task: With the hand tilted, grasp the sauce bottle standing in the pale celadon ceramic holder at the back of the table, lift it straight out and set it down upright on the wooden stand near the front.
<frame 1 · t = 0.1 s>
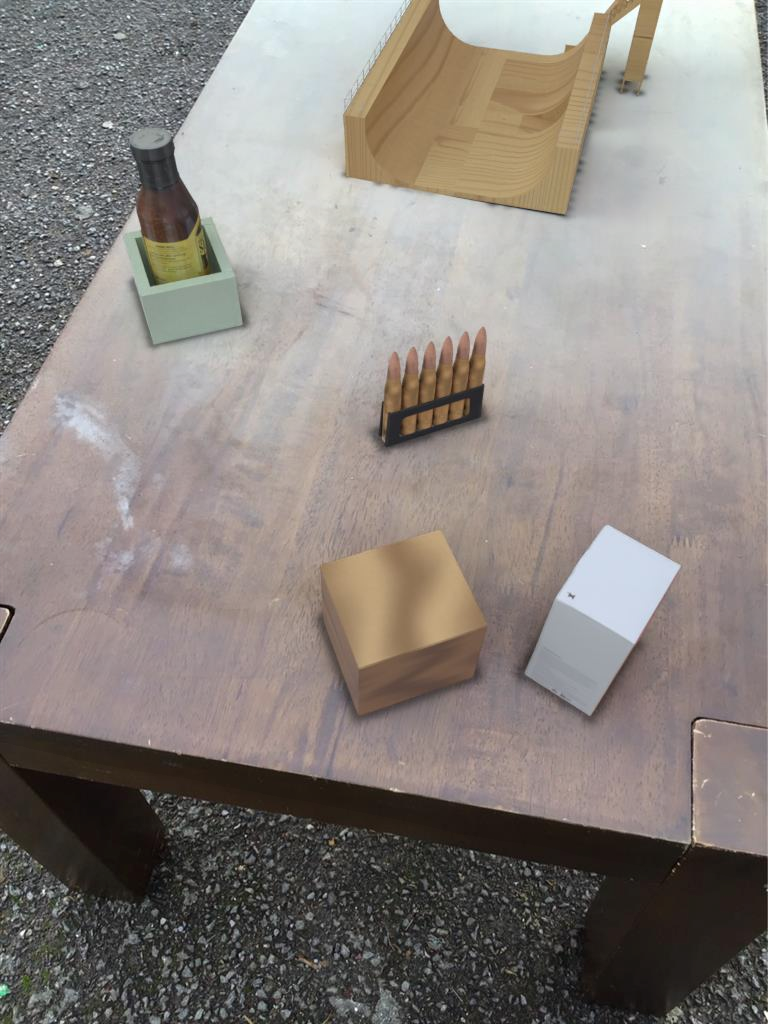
sauce bottle: (188, 307, 93), resting in holder
wooden stand: (401, 597, 61), on the table
holder: (188, 306, 93), on the table
small box: (578, 661, 68), on the table
skate ramp: (503, 126, 117), on the table
ammunition clip: (429, 429, 83), on the table
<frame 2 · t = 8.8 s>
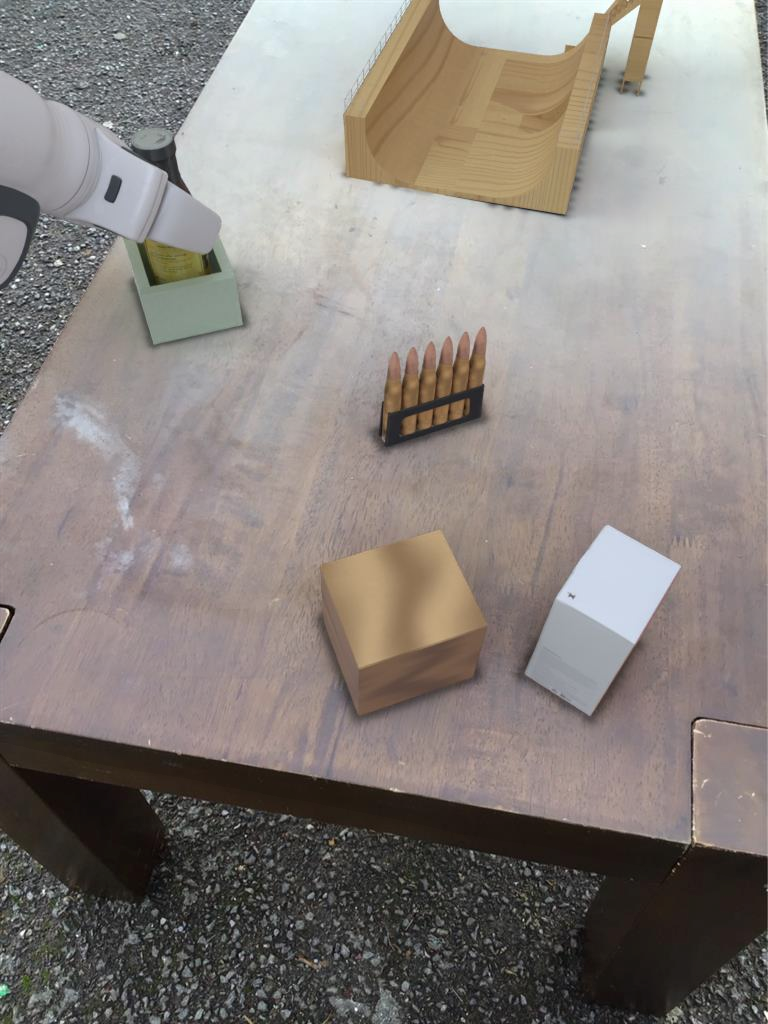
hand: (174, 214, 84), 11 cm above the table, tool tilted 45°, fingers closed on sauce bottle, 6 cm apart
sauce bottle: (188, 307, 93), resting in holder, touching gripper
everything else where it was.
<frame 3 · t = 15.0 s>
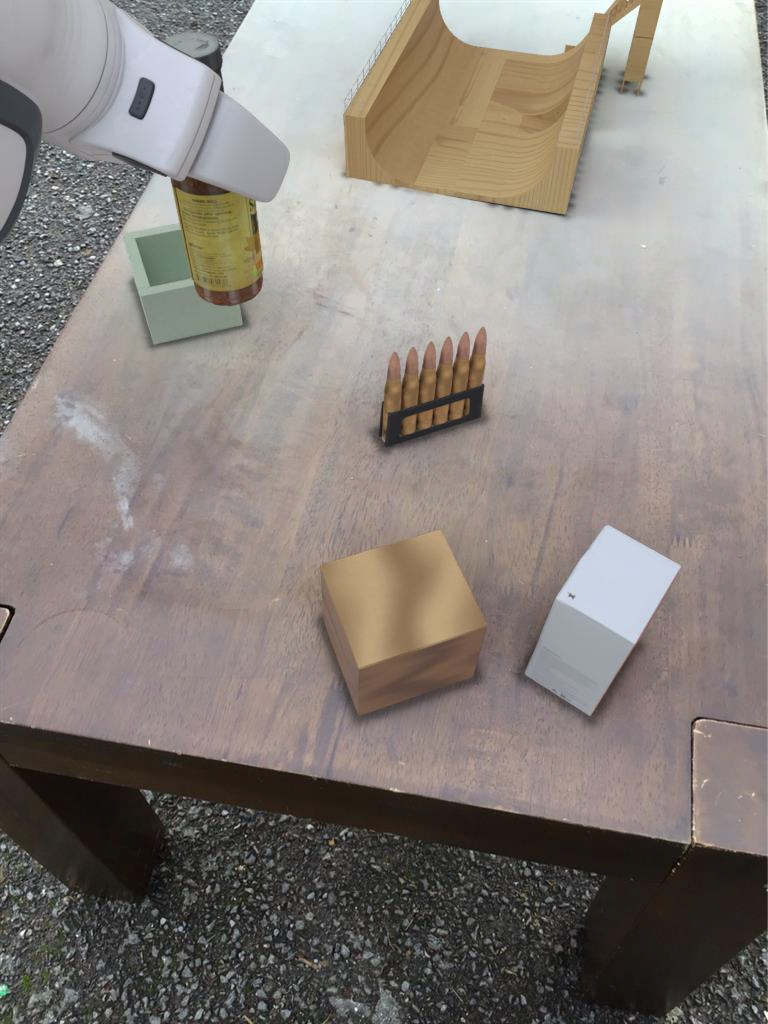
hand: (215, 157, 62), 27 cm above the table, tool tilted 45°, fingers closed on sauce bottle, 6 cm apart
sauce bottle: (228, 287, 71), point 16 cm above the table, touching gripper
everything else where it was.
when the fingers open (21 cm above the table, at t = 21.1 s): sauce bottle stays where it is, resting on wooden stand.
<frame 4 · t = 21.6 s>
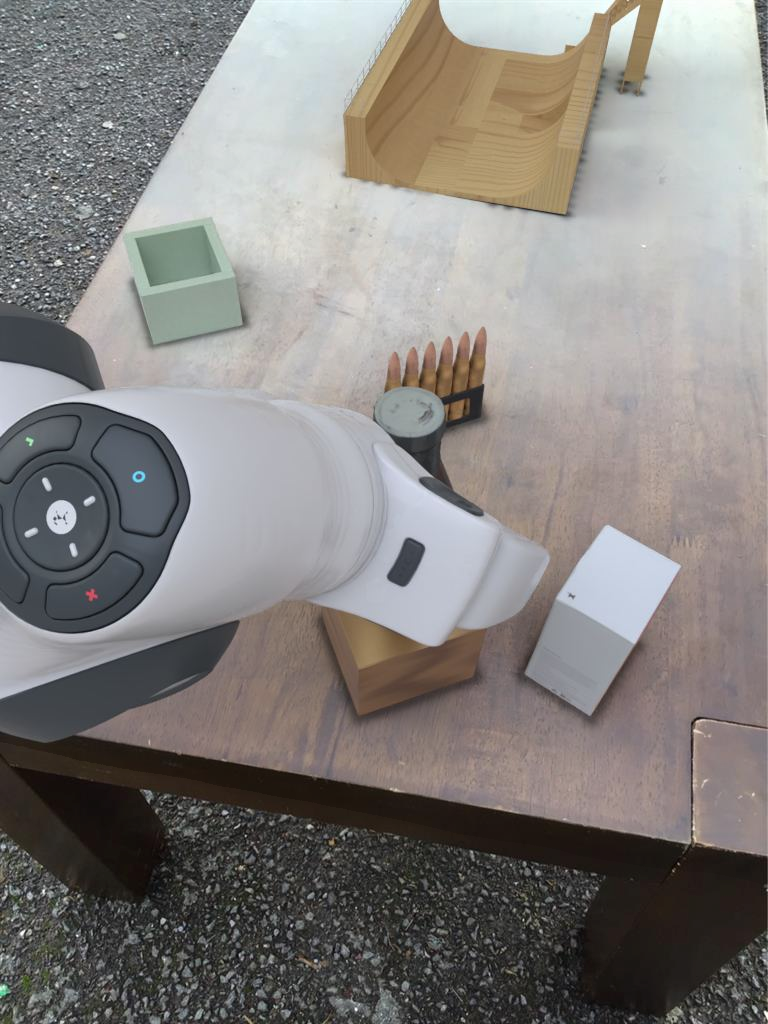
hand: (416, 490, 51), 21 cm above the table, tool tilted 45°, fingers open, 8 cm apart
sauce bottle: (399, 598, 61), point 9 cm above the table, touching wooden stand
everything else where it was.
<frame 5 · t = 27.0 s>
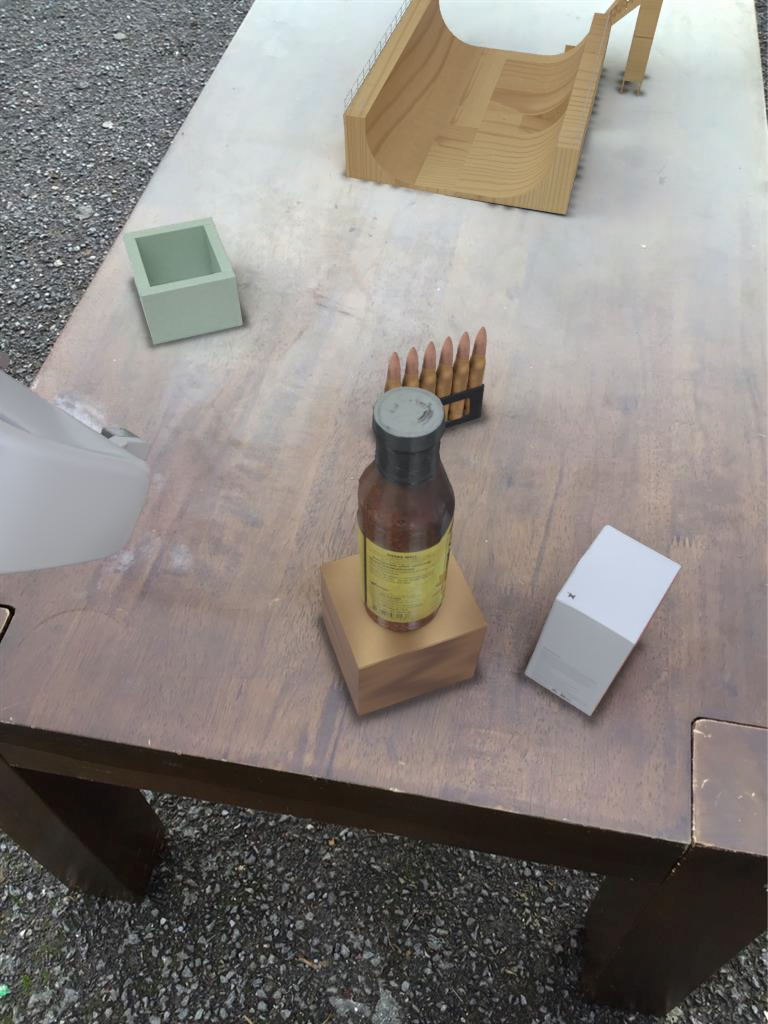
hand: (63, 407, 38), 33 cm above the table, tool tilted 45°, fingers open, 8 cm apart
nothing on the table moved.
at the end: sauce bottle inside the target area on the wooden stand (0.2 cm from its centre), point 0.2 cm above the wooden stand's base; sauce bottle tilted 0°; the gripper is holding nothing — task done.
